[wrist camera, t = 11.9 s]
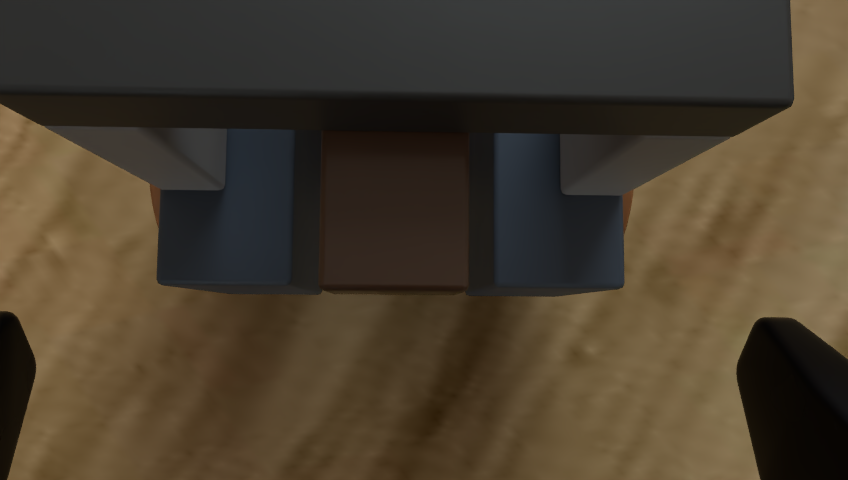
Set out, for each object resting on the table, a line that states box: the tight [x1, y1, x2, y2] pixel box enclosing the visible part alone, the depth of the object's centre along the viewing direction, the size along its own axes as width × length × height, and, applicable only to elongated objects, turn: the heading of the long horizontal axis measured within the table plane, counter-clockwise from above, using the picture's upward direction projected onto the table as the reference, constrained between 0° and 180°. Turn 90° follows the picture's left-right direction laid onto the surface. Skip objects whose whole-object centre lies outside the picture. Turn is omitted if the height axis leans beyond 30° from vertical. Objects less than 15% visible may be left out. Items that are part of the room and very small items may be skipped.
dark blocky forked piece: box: [0, 0, 794, 297], centre depth 11 cm, size 5×8×10 cm, turn 89°
